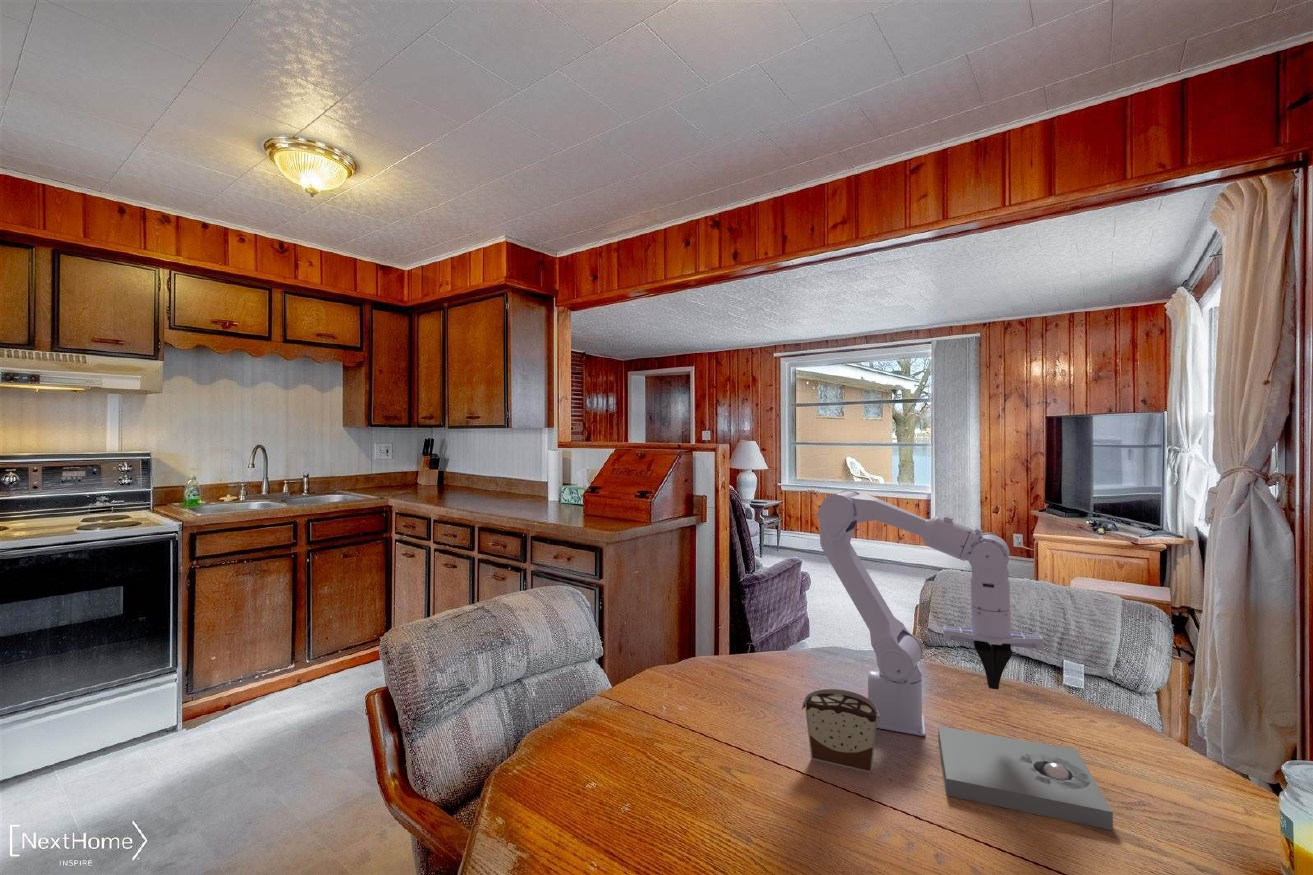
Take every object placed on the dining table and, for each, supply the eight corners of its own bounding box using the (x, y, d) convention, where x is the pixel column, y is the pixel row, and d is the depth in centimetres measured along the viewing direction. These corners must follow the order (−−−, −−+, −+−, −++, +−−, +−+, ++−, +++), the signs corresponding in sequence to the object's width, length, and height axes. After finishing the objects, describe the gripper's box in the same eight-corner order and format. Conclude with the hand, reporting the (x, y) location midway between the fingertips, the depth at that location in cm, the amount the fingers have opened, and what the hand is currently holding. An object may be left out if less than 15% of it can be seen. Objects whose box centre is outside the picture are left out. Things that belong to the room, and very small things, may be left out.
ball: (1076, 778, 83) (1065, 798, 83) (1072, 769, 86) (1062, 789, 86) (1050, 761, 84) (1039, 782, 85) (1047, 754, 87) (1036, 773, 88)
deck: (946, 795, 84) (946, 778, 84) (938, 740, 98) (938, 726, 98) (1112, 830, 76) (1112, 812, 76) (1077, 765, 91) (1076, 749, 91)
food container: (883, 754, 94) (883, 695, 94) (881, 775, 89) (881, 712, 89) (808, 738, 99) (808, 682, 99) (802, 757, 94) (801, 697, 94)
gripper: (944, 609, 95) (947, 690, 95) (1047, 618, 89) (1049, 703, 89) (941, 598, 101) (943, 673, 101) (1036, 605, 96) (1039, 685, 96)
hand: (992, 686), depth 96 cm, fingers closed
